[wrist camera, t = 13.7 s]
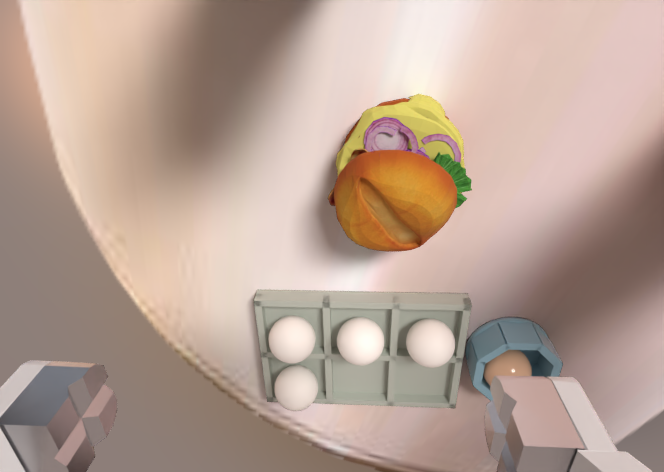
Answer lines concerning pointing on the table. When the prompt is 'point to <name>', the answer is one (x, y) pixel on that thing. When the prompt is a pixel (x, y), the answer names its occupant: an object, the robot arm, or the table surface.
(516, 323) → the egg cup
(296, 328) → the egg carton
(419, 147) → the cheeseburger
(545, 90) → the table surface
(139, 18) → the table surface
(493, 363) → the brown egg
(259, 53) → the table surface
